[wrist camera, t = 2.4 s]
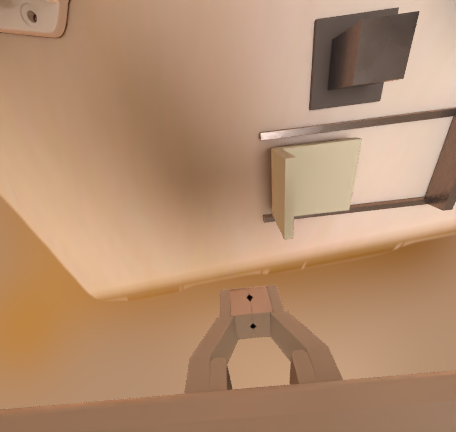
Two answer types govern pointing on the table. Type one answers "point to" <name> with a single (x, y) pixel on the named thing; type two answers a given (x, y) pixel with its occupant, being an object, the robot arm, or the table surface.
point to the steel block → (372, 51)
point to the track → (436, 196)
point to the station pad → (321, 63)
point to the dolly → (312, 179)
